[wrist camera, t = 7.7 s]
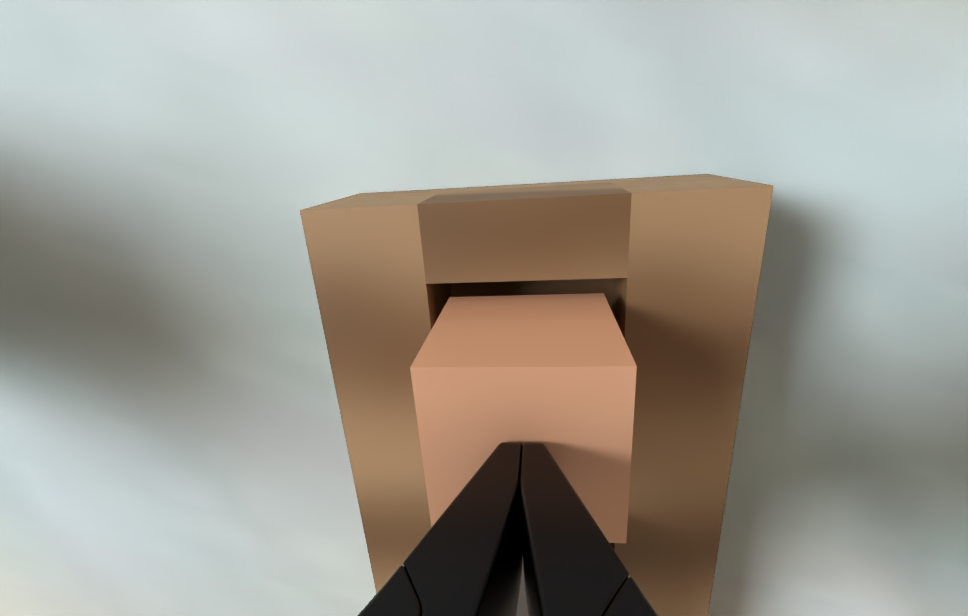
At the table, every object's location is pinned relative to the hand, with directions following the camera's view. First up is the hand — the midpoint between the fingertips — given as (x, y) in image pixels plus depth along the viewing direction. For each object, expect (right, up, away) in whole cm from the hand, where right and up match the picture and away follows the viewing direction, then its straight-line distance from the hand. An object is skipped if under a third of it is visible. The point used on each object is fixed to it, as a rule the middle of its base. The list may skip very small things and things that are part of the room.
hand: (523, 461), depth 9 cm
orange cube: (0, +1, +4) cm, 4 cm away
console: (+1, -3, +9) cm, 10 cm away
